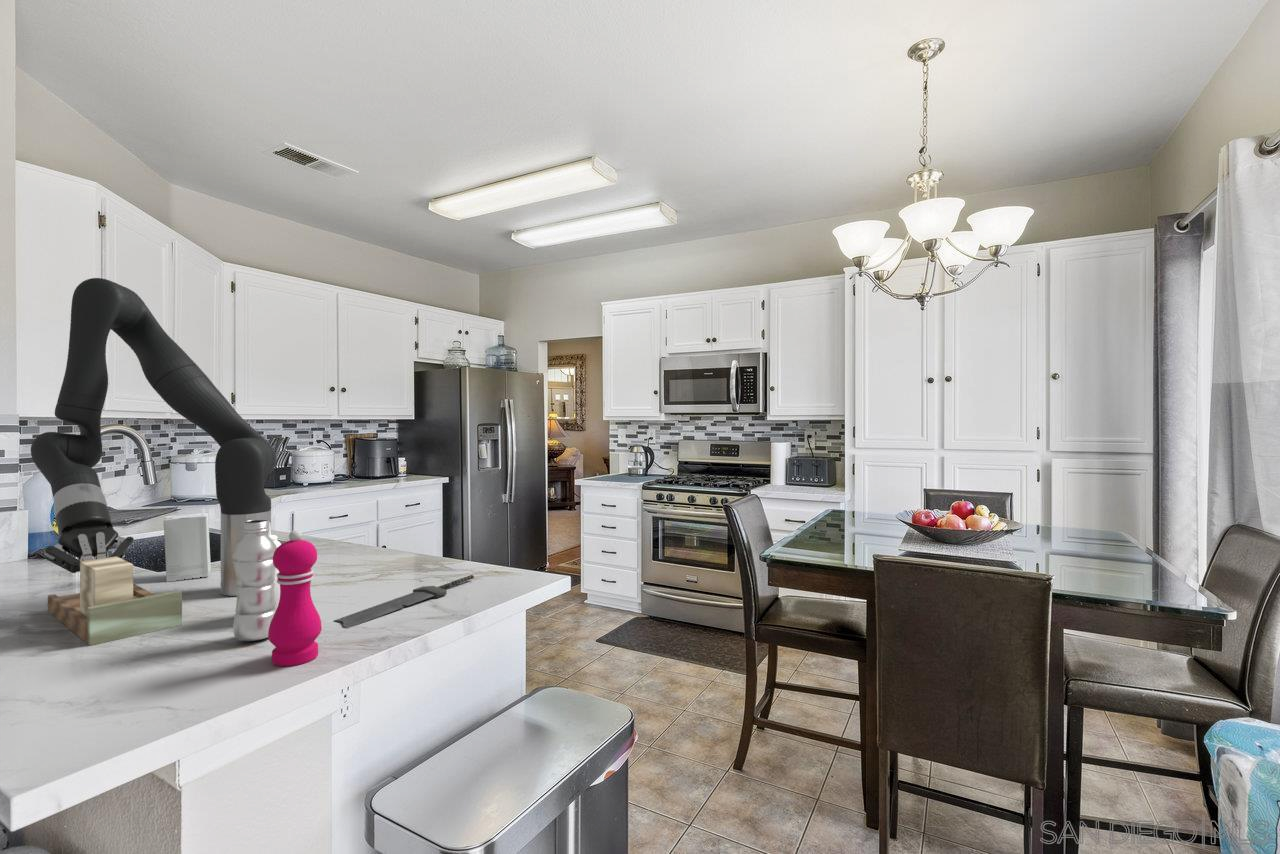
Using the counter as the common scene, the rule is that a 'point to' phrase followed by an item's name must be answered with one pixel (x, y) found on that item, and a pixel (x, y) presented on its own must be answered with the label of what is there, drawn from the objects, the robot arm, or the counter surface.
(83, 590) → the maple block
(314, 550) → the pepper mill
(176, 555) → the skincare box
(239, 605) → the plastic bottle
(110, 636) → the trap deck
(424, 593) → the toy broadsword
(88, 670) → the counter surface
